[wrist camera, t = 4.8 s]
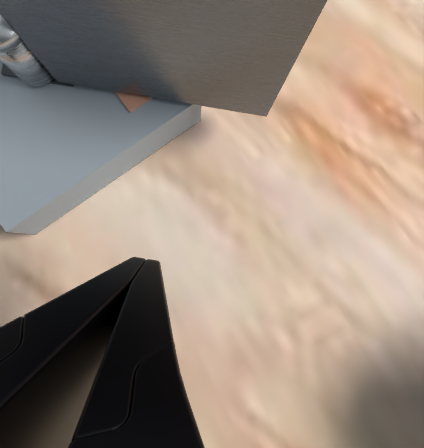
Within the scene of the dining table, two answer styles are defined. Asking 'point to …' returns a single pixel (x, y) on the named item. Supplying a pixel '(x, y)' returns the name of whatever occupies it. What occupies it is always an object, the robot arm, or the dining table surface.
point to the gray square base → (73, 144)
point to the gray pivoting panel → (161, 46)
